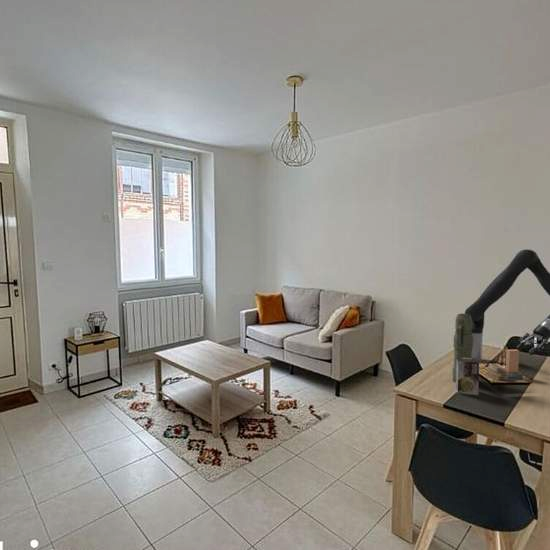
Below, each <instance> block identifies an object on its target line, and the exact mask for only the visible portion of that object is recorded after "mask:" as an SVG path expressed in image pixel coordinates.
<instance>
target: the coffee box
mask: <svg viewBox="0 0 550 550" xmlns="http://www.w3.org/2000/svg"><path fill="white" fill-rule="evenodd" d="M479 381H480V361H479V362H478V360H477V358H466V357H456V382H455V389H456V393H457V394H461V395H469V396H470V395H471V396H472V395H473V396H479V392H480V391H479V388H480V387H479V384H480V383H479Z"/></svg>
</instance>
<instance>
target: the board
mask: <svg viewBox="0 0 550 550" xmlns="http://www.w3.org/2000/svg"><path fill="white" fill-rule="evenodd" d="M505 354H506V356H505V359H506V360H505V370H506V371H508V372H509V373H519V363H520V362H519V360H520V350H518V349H517V348H515V349H512V348H511V349H506V353H505Z"/></svg>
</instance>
